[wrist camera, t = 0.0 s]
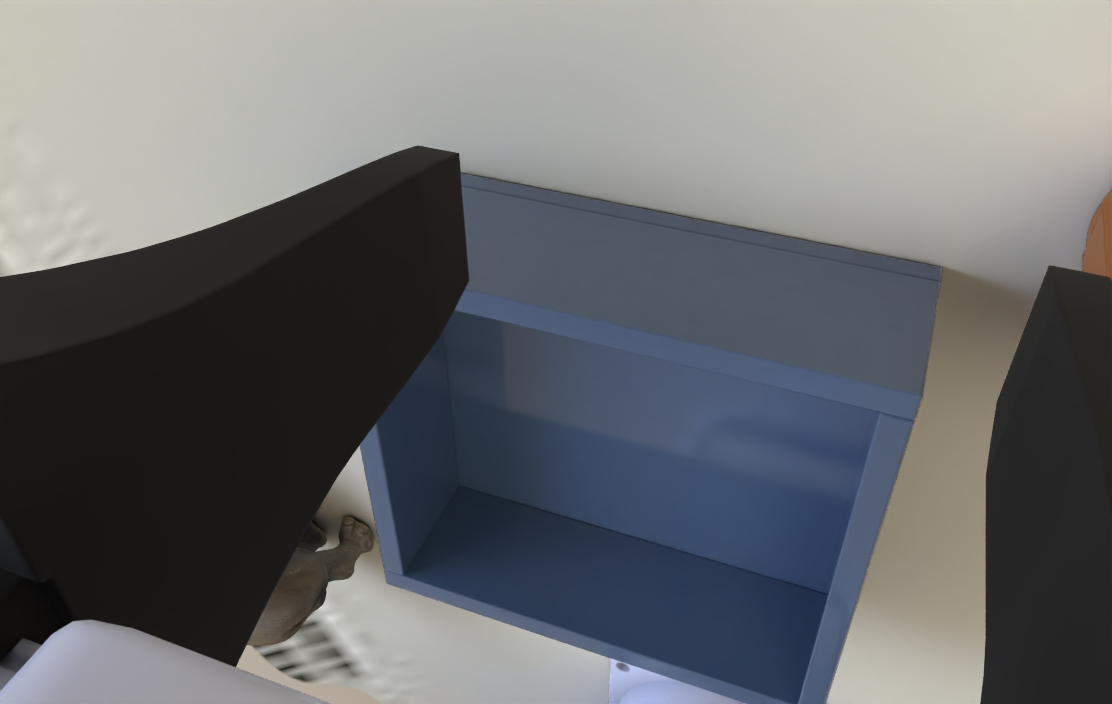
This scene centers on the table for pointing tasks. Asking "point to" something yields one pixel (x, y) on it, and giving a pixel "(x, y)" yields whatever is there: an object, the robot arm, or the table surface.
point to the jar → (1100, 241)
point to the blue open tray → (656, 438)
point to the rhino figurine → (309, 580)
